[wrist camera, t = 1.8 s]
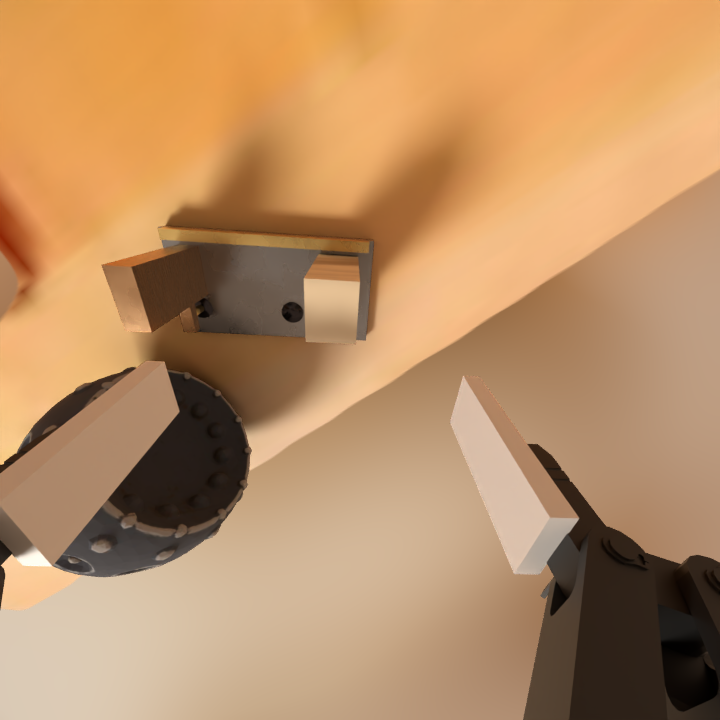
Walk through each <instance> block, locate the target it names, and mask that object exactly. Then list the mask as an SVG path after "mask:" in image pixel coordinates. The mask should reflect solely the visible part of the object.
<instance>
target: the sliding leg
mask: <svg viewBox="0 0 720 720" xmlns="http://www.w3.org/2000/svg"><path fill="white" fill-rule="evenodd" d="M359 289H360V275H359V261H358V257H357V256H341V255H326V254H318V256H317V258H316V259H315V261H314V263H313V264H312V266H311V267H310V269H309V271H308V272H307V274H306V275H305V277H304V306H305V338H306V342H318V343H338V344H356V335H357V320H358V304H359Z"/></svg>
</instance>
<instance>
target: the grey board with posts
mask: <svg viewBox="0 0 720 720" xmlns="http://www.w3.org/2000/svg"><path fill="white" fill-rule="evenodd" d="M158 232H159V236H160V240H162V243H163V247H164V248H163V249H159V250H155V251H152V252H148V253H144V254H141V255H137V256H133V257H129V258H126V259H122V260H118V261H115V262H111V263H107V264H103V265H102V268H103V271H104V273H105V276H106V279H107V282H108V284H109V287H110V290H111V293H112V295H113V298H114V301H115V304H116V306H117V309H118V312H119V315H120V317H121V320H122V323H123V326H124V328H125V331H134V332H153V331H155V330H156V329H158V328H159V327H161V326H162V325H164V324H165V323H167V322H168V321H170V320H171V319H173V318H174V317H176V316H177V315H179V314H180V318H181V322H182V326H183V330H184V332H212V333H232V334H251V335H271V336H291V337H305V306H304V277H305V275H306V274H307V272H308V271H309V269H310V267H311V266H312V264H313V263H314V261H315V259H316V258H317V256H318V254H326V255H341V256H357V257H358V261H359V275H360V289H359V304H358V320H357V335H356V340H366V332H367V320H368V308H369V296H370V284H371V272H372V260H373V248H374V240H368V239H353V238H338V237H324V236H309V235H294V234H279V233H265V232H250V231H235V230H220V229H206V228H191V227H176V226H161V227H158Z"/></svg>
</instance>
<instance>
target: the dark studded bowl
mask: <svg viewBox="0 0 720 720" xmlns="http://www.w3.org/2000/svg"><path fill="white" fill-rule="evenodd" d="M135 369H136V367H130V368H127V369H125V370H124V371H122V372H121V373H117V374H113V375H110V376H107V377H104V378H102V379H99V380H97V381H94V382H92V383H84V384H83V385H81V386H79V387H77V388H76V390H75V391H74V392H73V393H71V394H69V395H68V396H67V397H65V398H64V399H62V400H61V401H60V402H58V403H57V404H56V405H55V406H54V407H52V408H51V409H50V410H49V411H48V412H47V413H46V414H45V415H44V416H43V417H42V418H41V419H40V420H39V421H38V422H37V423H36V424H35V425H34V426H33V428H32V429H31V430H30V432H29V433H28V434H27V436H26V437H25V438H24V440H23V442H22V444H21V446H20V447H19V449H18V451H17V454H18V453H19V450H21V449H22V448H23V447H25V446H26V445H27V444H29V443H30V442H31V441H33V440H34V439H35V438H37V437H39V436H41V435H43V434H45V433H47V432H49V431H51V430H53V429H55V428H56V427H61V426H62V425H64V424H65V423H66V422H67V421H69V420H70V419H71V418H73V417H74V416H75V415H76V414H78V413H79V412H80V411H82V410H83V409H84V408H85V407H87V406H88V405H89V404H91V403H92V402H93V401H94V400H96V399H97V398H98V397H100V396H101V395H102V394H104V393H105V392H106V391H107V390H109V389H110V388H111V387H113V386H114V385H115V384H116V383H118V382H119V381H120V380H122V379H123V378H124V377H125V376H127V375H128V374H129V373H131V372H132V371H133V370H135ZM167 372H168V375H169V378H170V382H171V385H172V388H173V391H174V395H175V398H176V401H177V405H178V408H179V411H180V412H179V413H178V414H177V415H176V417H175V418H174V419H173V420H172V422H171V423H170V424H169V425H168V426H167V428H166V429H165V430H164V431H163V432H162V434H161V435H160V436H159V437H158V439H157V440H156V441H155V442H154V443H153V445H152V446H151V447H150V448H149V449H148V451H147V452H146V453H145V454H144V456H143V457H142V458H141V459H140V460H139V462H138V463H137V464H136V465H135V466H134V468H133V469H132V470H131V471H130V472H129V474H128V475H127V476H126V477H125V479H124V480H123V481H122V482H121V483H120V485H119V486H118V487H117V488H116V489H115V491H114V492H113V493H112V494H111V496H110V497H109V498H108V499H107V500H106V502H105V503H104V504H103V505H102V506H101V508H100V509H99V510H98V511H97V513H96V514H95V515H94V516H93V517H92V519H91V520H90V521H89V522H88V523H87V525H86V526H85V527H84V528H83V530H82V531H81V532H80V533H79V534H78V536H77V537H76V538H75V539H74V540H73V542H72V543H71V544H70V545H69V547H68V548H67V549H66V550H65V551H64V553H63V554H62V555H61V556H60V557H59V559H58V560H57V561H56V562H55V564H54V565H53V566H54V567H56V568H58V569H61V570H63V571H67V572H70V573H74V574H78V575H87V576H95V577H113V576H120V575H126V574H130V573H135V572H140V571H143V570H148V569H152V568H155V567H159V566H161V565H164V564H166V563H167V562H170V561H172V560H174V559H176V558H178V557H180V556H182V555H183V554H185V553H187V552H188V551H190V550H191V549H193V548H194V547H196V546H197V545H198V544H200V543H201V542H203V541H204V540H205V539H209V538H212V537H213V536H214V535H216V534H217V532H218V530H219V528H220V526H221V523H222V522H223V521H224V520H225V519H226V518H227V516H228V515H229V514H230V512H231V511H232V510H233V508H234V506H235V505H236V503H237V502H238V501H239V500H240V499H241V498H242V495H243V490H244V489H245V488H246V487H247V477H248V473H249V465H250V454H251V451H252V450H251V448H250V447H249V444H248V440H247V435H246V432H245V430H244V427H243V424H242V418H241V417H240V416H238V415H237V413H236V412H235V410H234V409H233V408H232V406H231V405H230V404H229V403H228V402H227V400H226V399H225V398H224V397H223V396H222V394H221V391H219V390H216V389H214V388H212V387H211V386H209V385H208V384H206V383H205V382H203V381H201V380H199V379H198V378H196V377H193V376H191V374H190V373H188V372H178V371H174V370H168V369H167Z"/></svg>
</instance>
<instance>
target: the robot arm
mask: <svg viewBox="0 0 720 720" xmlns="http://www.w3.org/2000/svg"><path fill="white" fill-rule="evenodd" d="M179 412H180V411H179V408H178V405H177V401H176V398H175V395H174V391H173V388H172V385H171V382H170V378H169V375H168V372H167V368H166V365H165V362H164V361H145V362H144V363H142V364H141V365H140V366H138V367H137V368H136V369H135V370H133V371H132V372H131V373H129V374H128V375H127V376H125V377H124V378H123V379H122V380H120V381H119V382H118V383H116V384H115V385H114V386H113V387H111V388H110V389H109V390H107V391H106V392H105V393H104V394H102V395H101V396H100V397H98V398H97V399H96V400H94V401H93V402H92V403H91V404H89V405H88V406H87V407H85V408H84V409H83V410H82V411H80V412H79V413H78V414H76V415H75V416H74V417H73V418H71V419H70V420H69V421H67V422H66V423H65V424H64V425H62V426H61V427H56V428H55V429H53V430H51V431H49V432H47V433H45V434H43V435H41V436H39V437H37V438H35V439H34V440H33V441H31V442H30V443H29V444H27V445H26V446H25V447H23V448H22V449H21V450H19V453H18V454H14V455H13V456H11V457H10V458H9V459H7V460H6V461H5V462H4V464H3V465H0V608H1V601H2V594H3V587H4V580H5V572H4V568H3V567H2V566H1V565H2V564H3V563H4V562H5V561H6V559H7V558H8V557H9V556H10V555H11V554H12V555H13V556H14V557H15V558H16V559H17V560H18V561H19V562H20V563H21V564H22V565H23V566H53V565H54V564H55V562H56V561H57V560H58V559H59V557H60V556H61V555H62V554H63V553H64V551H65V550H66V549H67V548H68V547H69V545H70V544H71V543H72V542H73V540H74V539H75V538H76V537H77V536H78V534H79V533H80V532H81V531H82V530H83V528H84V527H85V526H86V525H87V523H88V522H89V521H90V520H91V519H92V517H93V516H94V515H95V514H96V513H97V511H98V510H99V509H100V508H101V506H102V505H103V504H104V503H105V502H106V500H107V499H108V498H109V497H110V496H111V494H112V493H113V492H114V491H115V489H116V488H117V487H118V486H119V485H120V483H121V482H122V481H123V480H124V479H125V477H126V476H127V475H128V474H129V472H130V471H131V470H132V469H133V468H134V466H135V465H136V464H137V463H138V462H139V460H140V459H141V458H142V457H143V456H144V454H145V453H146V452H147V451H148V449H149V448H150V447H151V446H152V445H153V443H154V442H155V441H156V440H157V439H158V437H159V436H160V435H161V434H162V432H163V431H164V430H165V429H166V428H167V426H168V425H169V424H170V423H171V422H172V420H173V419H174V418H175V417H176V415H177V414H178V413H179ZM450 424H451V426H452V428H453V431H454V433H455V435H456V438H457V440H458V443H459V445H460V447H461V450H462V452H463V454H464V457H465V459H466V461H467V463H468V466H469V469H470V471H471V473H472V476H473V478H474V480H475V483H476V485H477V487H478V490H479V492H480V494H481V497H482V499H483V501H484V504H485V506H486V509H487V511H488V513H489V516H490V518H491V520H492V523H493V525H494V527H495V530H496V532H497V534H498V537H499V539H500V542H501V544H502V546H503V549H504V551H505V553H506V556H507V558H508V560H509V563H510V565H511V567H512V570H513V572H514V574H540V572H541V571H542V570H543V568H544V567H545V566H546V564H548V566H549V568H550V570H551V572H552V573H553V575H554V577H553V579H552V580H551V581H550V583H549V584H548V585H547V586H546V588H545V589H544V591H543V592H542V594H541V596H542V597H543V598H546V596H547V595H548V598H547V603H546V608H545V613H544V618H543V623H542V628H541V633H540V638H539V643H538V648H537V653H536V658H535V663H534V668H533V673H532V678H531V683H530V688H529V693H528V698H527V703H526V708H525V714H524V719H523V720H720V563H719V562H717V561H715V560H713V559H711V558H708V557H704V556H700V555H695V556H690V557H689V558H688V559H686V560H685V561H684V562H683V563H682V564H678V563H675V562H672V561H669V560H666V559H663V558H660V557H657V556H654V555H650V554H648V553H645V552H644V550H643V549H642V548H641V547H640V546H639V545H638V544H636V543H635V542H634V541H633V540H632V539H631V538H629V537H628V536H626V535H624V534H623V533H622V532H620V531H617V530H615V529H613V528H610V527H606V525H605V524H604V523H603V522H602V521H601V519H600V518H599V517H598V516H597V514H596V513H595V512H594V510H593V509H592V508H591V506H590V505H589V504H588V502H587V501H586V500H585V499H584V497H583V496H582V495H581V493H580V492H579V491H578V489H577V488H576V487H575V485H574V484H573V483H572V482H570V480H569V478H568V476H567V475H566V474H565V473H564V471H562V470H561V467H560V466H559V465H558V463H557V462H556V461H555V459H554V458H553V457H552V456H551V455H550V454H549V453H548V452H546V451H545V450H544V449H543V448H542V447H540V446H539V445H538V444H527V443H526V442H525V441H524V439H523V437H522V436H521V434H520V433H519V432H518V430H517V429H516V427H515V426H514V425H513V423H512V422H511V420H510V419H509V417H508V416H507V415H506V413H505V412H504V410H503V409H502V407H501V406H500V405H499V403H498V402H497V401H496V399H495V397H494V396H493V395H492V393H491V392H490V390H489V389H488V388H487V386H486V385H485V383H484V382H483V380H482V379H481V378H480V377H477V376H463V379H462V383H461V386H460V389H459V393H458V396H457V400H456V403H455V407H454V411H453V414H452V418H451V421H450Z"/></svg>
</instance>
